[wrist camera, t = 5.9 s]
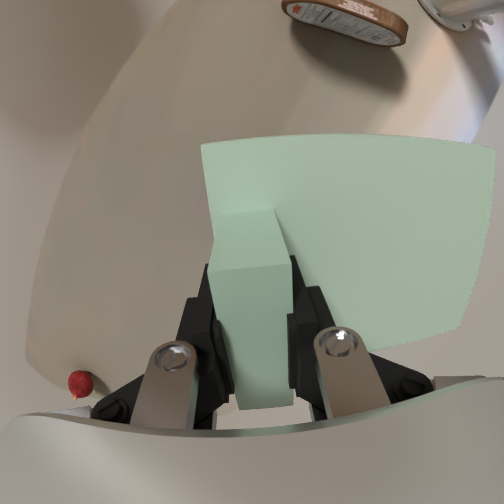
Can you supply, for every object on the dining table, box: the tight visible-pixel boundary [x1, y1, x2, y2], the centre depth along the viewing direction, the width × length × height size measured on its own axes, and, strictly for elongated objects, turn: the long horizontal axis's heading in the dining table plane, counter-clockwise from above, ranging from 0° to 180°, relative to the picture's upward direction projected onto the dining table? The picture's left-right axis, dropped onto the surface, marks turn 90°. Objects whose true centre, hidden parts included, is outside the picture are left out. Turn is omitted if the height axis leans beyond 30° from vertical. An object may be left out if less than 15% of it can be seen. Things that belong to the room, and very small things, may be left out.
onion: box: [68, 370, 93, 400], centre depth 45 cm, size 6×6×8 cm
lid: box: [200, 134, 496, 410], centre depth 11 cm, size 14×11×7 cm
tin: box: [281, 0, 408, 47], centre depth 21 cm, size 15×3×8 cm, turn 80°
